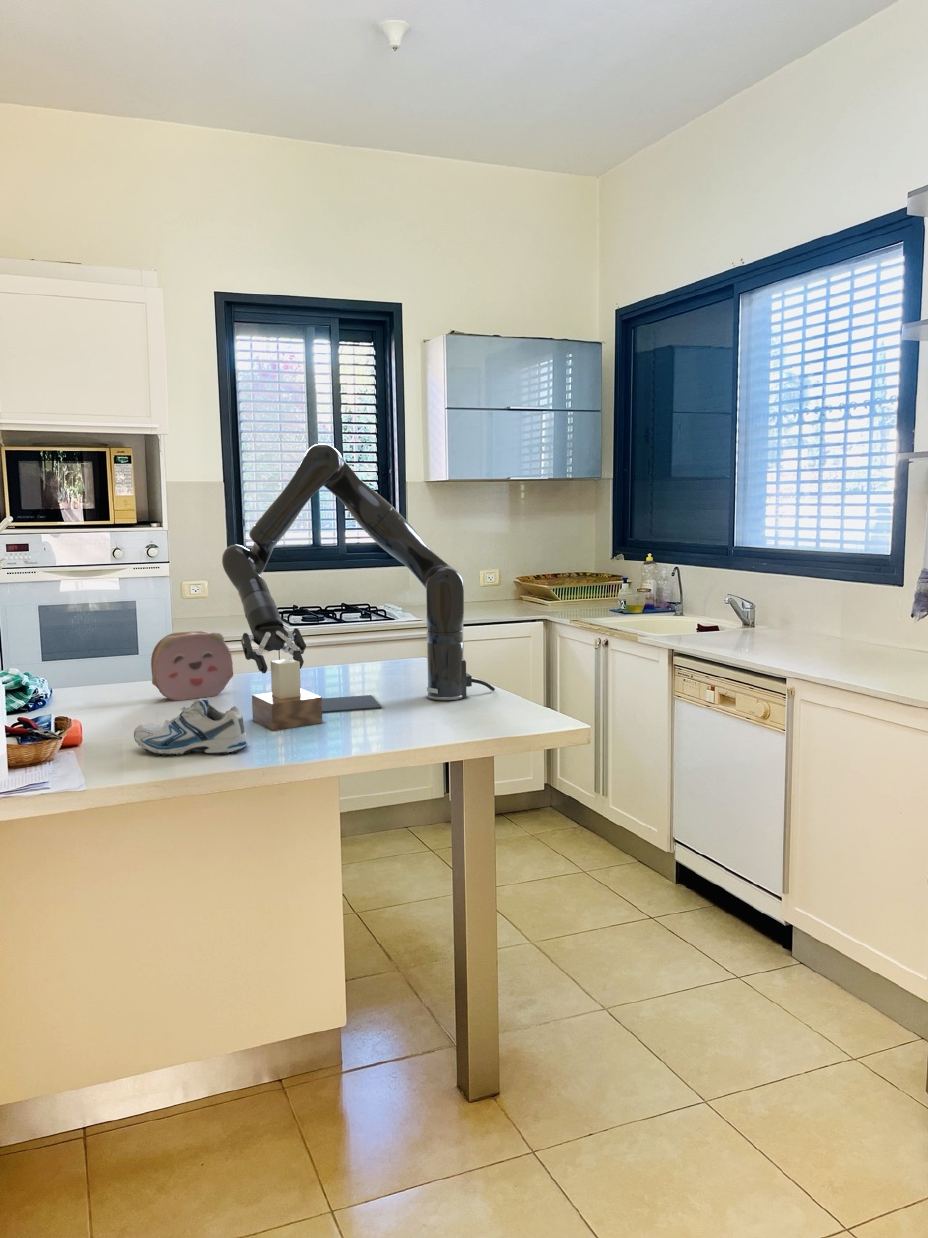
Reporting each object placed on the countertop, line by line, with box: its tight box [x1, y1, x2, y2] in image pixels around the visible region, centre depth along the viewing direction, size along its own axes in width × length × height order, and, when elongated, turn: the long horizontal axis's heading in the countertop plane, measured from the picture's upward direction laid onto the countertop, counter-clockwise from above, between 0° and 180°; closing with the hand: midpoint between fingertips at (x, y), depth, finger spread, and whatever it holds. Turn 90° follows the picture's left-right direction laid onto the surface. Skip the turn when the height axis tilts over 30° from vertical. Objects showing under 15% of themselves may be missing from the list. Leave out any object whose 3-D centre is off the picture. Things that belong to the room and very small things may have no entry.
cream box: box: [270, 658, 302, 699], centre depth 212 cm, size 5×5×8 cm
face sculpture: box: [150, 630, 234, 702], centre depth 240 cm, size 20×7×17 cm, turn 121°
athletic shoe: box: [133, 698, 249, 757], centre depth 190 cm, size 10×23×12 cm, turn 94°
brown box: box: [251, 688, 323, 732], centre depth 213 cm, size 12×12×6 cm
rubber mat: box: [322, 694, 382, 714], centre depth 230 cm, size 16×14×1 cm
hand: (283, 669), depth 213 cm, fingers open, 8 cm apart
